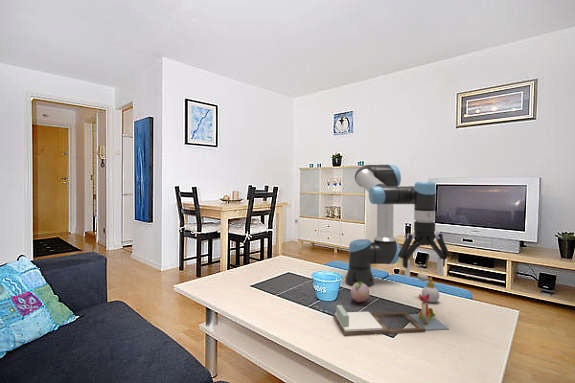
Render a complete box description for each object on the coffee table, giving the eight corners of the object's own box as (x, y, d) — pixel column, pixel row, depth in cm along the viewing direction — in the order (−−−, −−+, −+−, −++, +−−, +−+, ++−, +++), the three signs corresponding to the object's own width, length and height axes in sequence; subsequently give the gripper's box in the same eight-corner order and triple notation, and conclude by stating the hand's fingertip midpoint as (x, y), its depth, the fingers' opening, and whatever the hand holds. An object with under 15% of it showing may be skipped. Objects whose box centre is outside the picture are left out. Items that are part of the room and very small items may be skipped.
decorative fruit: (368, 307, 134) (368, 285, 133) (349, 305, 136) (349, 283, 136) (370, 300, 142) (370, 278, 142) (352, 297, 145) (352, 277, 145)
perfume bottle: (438, 306, 136) (438, 279, 135) (415, 301, 141) (415, 275, 141) (440, 300, 142) (440, 275, 142) (417, 296, 147) (418, 271, 147)
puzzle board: (333, 317, 124) (333, 315, 124) (405, 314, 127) (405, 312, 127) (344, 336, 109) (344, 333, 109) (425, 332, 112) (425, 329, 112)
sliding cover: (335, 314, 123) (335, 303, 123) (368, 313, 125) (368, 301, 125) (345, 331, 109) (345, 318, 109) (382, 329, 111) (382, 316, 111)
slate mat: (408, 315, 126) (408, 314, 126) (429, 314, 127) (429, 313, 127) (426, 330, 113) (426, 329, 113) (448, 329, 114) (448, 328, 114)
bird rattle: (434, 330, 116) (435, 313, 124) (434, 308, 112) (435, 291, 119) (417, 327, 119) (418, 310, 127) (416, 305, 115) (418, 289, 122)
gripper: (398, 223, 113) (398, 279, 114) (460, 222, 116) (459, 277, 117) (389, 220, 121) (389, 273, 122) (448, 219, 124) (447, 271, 124)
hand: (423, 275), depth 119 cm, fingers open, 13 cm apart
